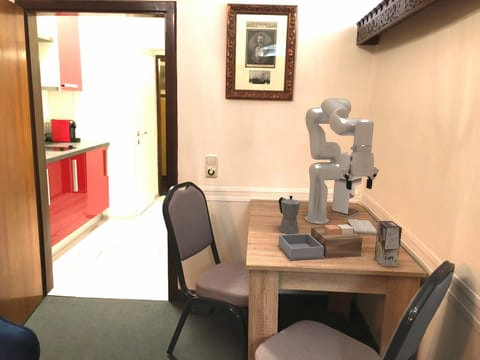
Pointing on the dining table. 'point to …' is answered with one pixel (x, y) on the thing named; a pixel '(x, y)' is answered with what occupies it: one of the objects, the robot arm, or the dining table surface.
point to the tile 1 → (331, 229)
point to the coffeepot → (289, 215)
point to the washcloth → (362, 226)
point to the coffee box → (387, 243)
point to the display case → (344, 191)
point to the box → (300, 247)
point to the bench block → (338, 243)
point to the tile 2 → (345, 229)
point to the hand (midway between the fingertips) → (358, 189)
